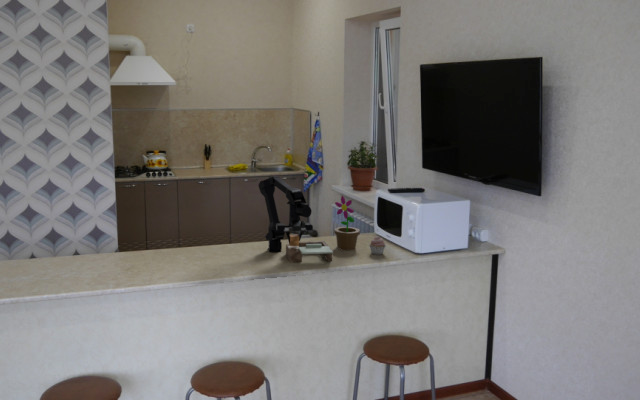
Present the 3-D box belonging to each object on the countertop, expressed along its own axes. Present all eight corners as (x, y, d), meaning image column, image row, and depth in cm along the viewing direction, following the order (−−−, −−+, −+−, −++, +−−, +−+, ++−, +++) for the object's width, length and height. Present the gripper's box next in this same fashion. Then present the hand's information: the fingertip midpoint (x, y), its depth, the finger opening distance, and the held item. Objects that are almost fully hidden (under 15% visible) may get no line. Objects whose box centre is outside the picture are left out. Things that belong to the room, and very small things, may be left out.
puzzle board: (290, 262, 300) (290, 251, 299) (284, 252, 317) (284, 242, 316) (331, 260, 305) (332, 250, 304) (324, 250, 322) (324, 240, 321)
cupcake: (381, 256, 314) (382, 239, 312) (365, 254, 319) (366, 236, 317) (388, 252, 322) (389, 235, 320) (373, 250, 327) (373, 232, 325)
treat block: (290, 246, 303) (290, 236, 302) (289, 243, 308) (289, 234, 307) (298, 245, 304) (299, 236, 303) (297, 243, 309) (297, 234, 308)
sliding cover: (302, 254, 295) (302, 249, 295) (298, 248, 305) (298, 244, 304) (332, 253, 299) (333, 248, 298) (328, 247, 308) (328, 243, 308)
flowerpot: (328, 247, 328) (330, 195, 322) (342, 242, 340) (344, 191, 334) (350, 252, 320) (352, 199, 314) (363, 247, 332) (366, 195, 326)
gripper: (279, 217, 293) (278, 247, 296) (315, 217, 297) (314, 246, 300) (275, 212, 304) (275, 241, 307) (311, 212, 308) (310, 240, 311)
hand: (293, 242), depth 306 cm, fingers closed on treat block, 4 cm apart
